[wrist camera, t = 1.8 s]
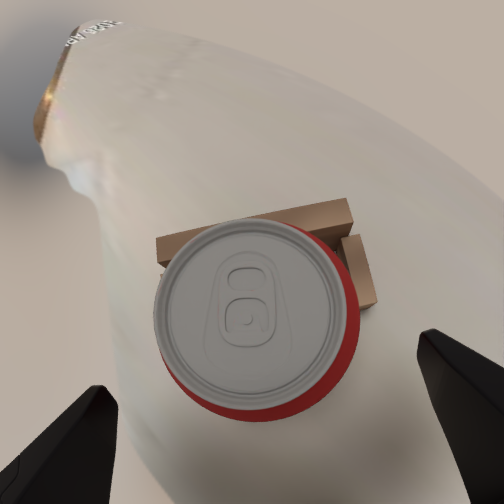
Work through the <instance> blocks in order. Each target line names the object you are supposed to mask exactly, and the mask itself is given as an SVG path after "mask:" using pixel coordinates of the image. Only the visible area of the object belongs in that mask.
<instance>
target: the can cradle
mask: <svg viewBox="0 0 504 504" xmlns="http://www.w3.org/2000/svg"><path fill="white" fill-rule="evenodd" d="M247 218H257V219H267V220H273V221H279V222H283V223H287V224H290V225H294V226H296V227H298V228H301V229H303V230H305V231H307V232H309V233H311V234H312V235H314V236H315V237H317V238H318V239H320V240H321V241H322V242H324V243H325V244H326V245H327V246H328V247H329V248H330V249H331V250H332V251H336V250H337V251H336V252H337V256H338V258H339V259H340V260H341V262H342V263H343V264H344V266H345V268H346V269H347V271H348V273H349V275H350V277H351V279H352V281H353V284H354V286H355V290H356V293H357V297H358V302H359V309H360V310H364V309H368V308H370V307H371V306H373V305H374V304H375V303H377V302H378V301H377V297H376V293H375V289H374V285H373V281H372V277H371V273H370V269H369V265H368V262H367V258H366V254H365V251H364V247H363V244H362V240H361V237H360V234H357V235H352V236H348V235H349V233H350V230H351V228H352V225H353V222H354V221H353V218H352V215H351V212H350V209H349V205H348V202H347V199H346V198H342V199H337V200H332V201H326V202H321V203H316V204H311V205H306V206H301V207H296V208H291V209H286V210H281V211H276V212H271V213H266V214H261V215H256V216H252V217H247ZM242 219H245V218H242ZM219 224H221V223H219ZM215 225H218V224H215ZM215 225H210V226H206V227H201V228H197V229H192V230H188V231H184V232H179V233H175V234H171V235H166V236H162V237H158V238H156V247H157V262H158V263H159V264H160V265H162V266H163V267H165V268H167V266H168V264H169V263H170V261H171V260H172V259H173V257H174V256H175V255H176V253H177V252H178V251H179V250H180V249H181V248H182V247H183V246H184V245H185V244H186V243H187V242H188V241H190V240H191V239H192V238H194V237H195V236H196V235H198V234H199V233H201V232H203V231H205V230H207V229H208V228H211V227H213V226H215ZM160 276H161V278H162V276H163V274H160Z"/></svg>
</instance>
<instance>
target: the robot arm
mask: <svg viewBox="0 0 504 504" xmlns="http://www.w3.org/2000/svg"><path fill="white" fill-rule="evenodd" d="M417 360H418V364H419V366H420V369H421V372H422V375H423V378H424V381H425V384H426V387H427V390H428V393H429V397H430V400H431V403H432V406H433V408H434V410H435V413H436V415H437V417H438V420H439V422H440V424H441V427H442V429H443V431H444V434H445V436H446V438H447V441H448V443H449V446H450V448H451V451H452V453H453V456H454V458H455V461H456V463H457V466H458V469H459V471H460V474H461V477H462V479H463V482H464V485H465V488H466V490H467V493H468V496H469V499H470V502H471V504H504V368H503V367H501V366H500V365H498V364H496V363H495V362H493V361H491V360H489V359H488V358H486V357H484V356H482V355H481V354H479V353H477V352H475V351H474V350H472V349H470V348H469V347H467V346H465V345H463V344H461V343H460V342H458V341H456V340H454V339H453V338H451V337H449V336H447V335H446V334H444V333H442V332H440V331H439V330H437V329H429V330H426V331H423V332H421V334H420V336H419V343H418V349H417ZM117 421H118V404H117V402H116V400H115V399H114V398H113V396H112V395H111V394H110V393H109V391H108V390H107V388H106V387H105V386H103V385H93V386H91V387H90V388H89V389H87V390H86V391H85V392H84V393H83V394H82V395H81V396H80V397H79V398H78V399H77V400H76V401H75V402H74V403H73V404H71V405H70V406H69V407H68V408H67V409H66V410H65V411H64V412H63V413H62V414H61V415H60V416H59V417H58V418H57V419H56V420H55V421H54V422H53V423H51V424H50V425H49V427H47V428H46V429H45V430H44V431H43V432H42V433H41V434H40V435H39V436H38V437H37V438H36V439H35V440H34V441H33V442H32V443H31V444H30V445H29V446H27V447H26V449H24V450H23V451H22V452H21V453H20V455H18V456H17V457H16V458H15V459H14V460H13V461H12V462H11V463H10V464H9V465H8V466H7V467H6V468H4V469H3V470H2V471H1V472H0V504H109V499H110V491H111V483H112V475H113V467H114V461H115V453H116V439H117Z"/></svg>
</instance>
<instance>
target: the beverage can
mask: <svg viewBox="0 0 504 504" xmlns="http://www.w3.org/2000/svg"><path fill="white" fill-rule="evenodd" d="M153 314H154V330H155V335H156V339H157V343H158V346H159V350H160V353H161V356H162V358H163V361H164V363H165V365H166V367H167V369H168V371H169V373H170V374H171V376H172V377H173V379H174V380H175V382H176V383H177V384H178V385H179V386H180V388H181V389H182V390H183V391H184V392H185V393H186V394H187V395H188V396H189V397H190V398H192V399H193V400H194V401H195V402H197V403H198V404H200V405H201V406H202V407H204V408H206V409H208V410H210V411H211V412H214V413H216V414H218V415H221V416H224V417H227V418H230V419H234V420H239V421H246V422H266V421H274V420H279V419H283V418H287V417H290V416H293V415H295V414H298V413H300V412H302V411H304V410H306V409H308V408H310V407H311V406H313V405H314V404H316V403H317V402H319V401H320V400H321V399H322V398H324V397H325V396H326V395H327V394H328V393H329V392H330V391H331V390H332V389H333V388H334V387H335V386H336V384H337V383H338V382H339V381H340V379H341V378H342V376H343V375H344V373H345V372H346V370H347V368H348V367H349V364H350V362H351V360H352V358H353V355H354V352H355V350H356V346H357V342H358V337H359V331H360V309H359V302H358V297H357V293H356V290H355V286H354V284H353V281H352V279H351V277H350V275H349V273H348V271H347V269H346V268H345V266H344V264H343V263H342V262H341V260H340V259H339V258H338V256H337V255H336V254H335V253H334V252H333V251H332V250H331V249H330V248H329V247H328V246H327V245H326V244H325V243H324V242H322V241H321V240H320V239H318V238H317V237H315V236H314V235H312V234H311V233H309V232H307V231H305V230H303V229H301V228H298V227H296V226H294V225H290V224H287V223H283V222H279V221H273V220H267V219H257V218H245V219H237V220H231V221H227V222H224V223H221V224H218V225H215V226H213V227H211V228H208V229H207V230H205V231H203V232H201V233H199V234H198V235H196V236H195V237H194V238H192V239H191V240H190V241H188V242H187V243H186V244H185V245H184V246H183V247H182V248H181V249H180V250H179V251H178V252H177V253H176V255H175V256H174V257H173V259H172V260H171V261H170V263H169V264H168V266H167V268H166V270H165V272H164V273H163V276H162V278H161V280H160V283H159V286H158V289H157V292H156V296H155V302H154V312H153Z"/></svg>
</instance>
